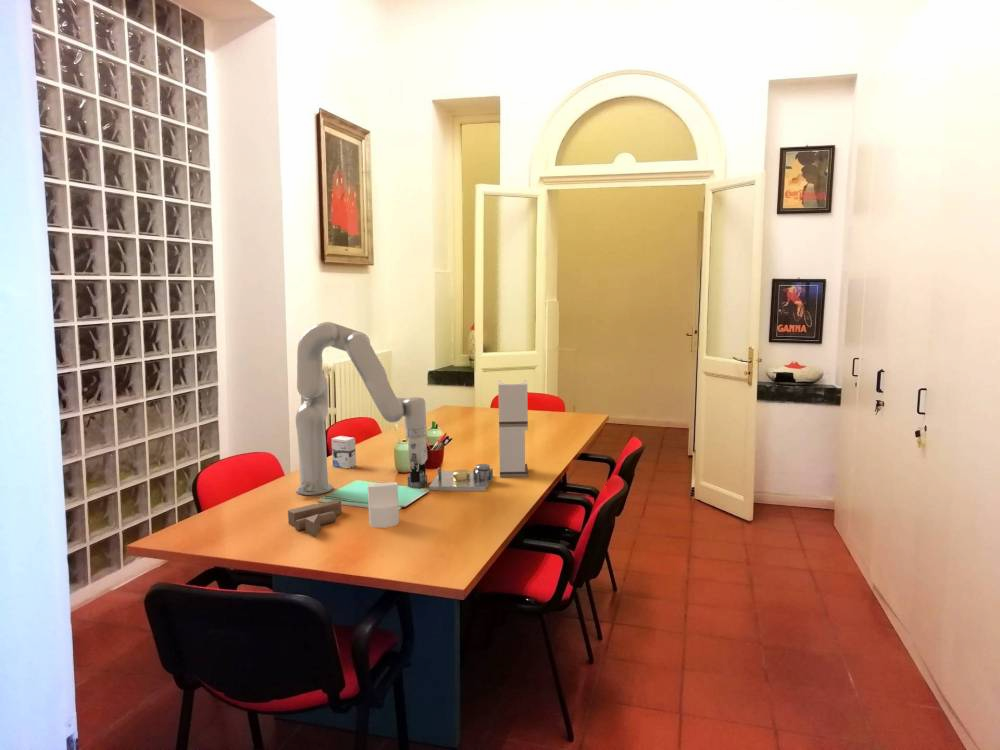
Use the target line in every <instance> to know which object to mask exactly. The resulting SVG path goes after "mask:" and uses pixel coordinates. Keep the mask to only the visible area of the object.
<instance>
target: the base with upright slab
mask: <svg viewBox="0 0 1000 750" xmlns="http://www.w3.org/2000/svg"><path fill="white" fill-rule="evenodd" d="M398 487H399V486H398V482H397V481H394V482H393V481H392V482H384V483H383V482H382V483H371V484H367V501H368V504H367V505H368V525H369V526H370V527H373V528H376V529H383V528H384V529H386V528H391V527H394V526H396V525H398V524H399V522H400V517H399V513H400V512H399V511H400V510H399V489H398Z"/></svg>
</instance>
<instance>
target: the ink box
mask: <svg viewBox="0 0 1000 750" xmlns="http://www.w3.org/2000/svg"><path fill="white" fill-rule="evenodd" d="M356 452H357V451H356V438H355V437H349V436H344V435H339V436H335V437H333V438H331V455H332V467H333V466H335V468H340V467H343V468H342V469H346V468H349V469H352V468H355V467H357V454H356ZM354 466H355V467H354ZM351 467H352V468H351Z"/></svg>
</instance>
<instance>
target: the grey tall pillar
mask: <svg viewBox="0 0 1000 750" xmlns="http://www.w3.org/2000/svg"><path fill="white" fill-rule="evenodd" d="M497 384H498V385H497V386H498V387H497V388H498V389H497V390H498V434H499V435H498V436H499V437H498V439H499V440H498V441H499V444H498V445H499V449H498V451H499V452H498V453H499V477H500V478H529V469H528V468H529V466H528V463H526V431H529V427H528V426H529V425H528V424H529V422H528V421H529V418H528V417H529V416H528V415H529V413H528V412H529V409H528V408H529V407H528V400H529V399H528V383H527V380H526V379H525V380H524V379H523V383H522V382H521V383H512V384H511V383H509V384H508V383H502V382H501V380H498V381H497Z"/></svg>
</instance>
